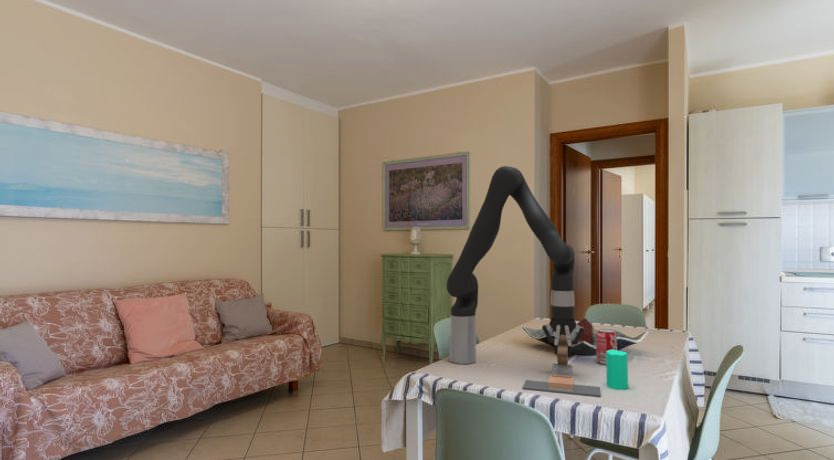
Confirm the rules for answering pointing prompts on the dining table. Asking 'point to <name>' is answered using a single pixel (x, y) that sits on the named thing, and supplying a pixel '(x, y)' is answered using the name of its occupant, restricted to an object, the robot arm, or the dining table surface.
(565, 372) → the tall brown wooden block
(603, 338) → the soda can
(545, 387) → the mat
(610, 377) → the candle
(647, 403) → the dining table surface
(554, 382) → the tile
